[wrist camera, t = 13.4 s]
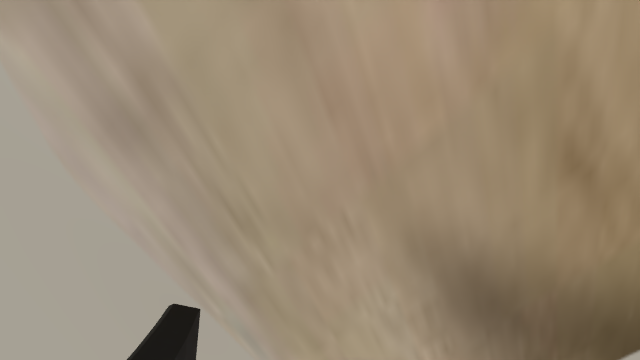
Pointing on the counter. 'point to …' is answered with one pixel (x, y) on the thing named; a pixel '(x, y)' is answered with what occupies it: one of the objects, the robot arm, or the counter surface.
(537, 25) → the counter surface
